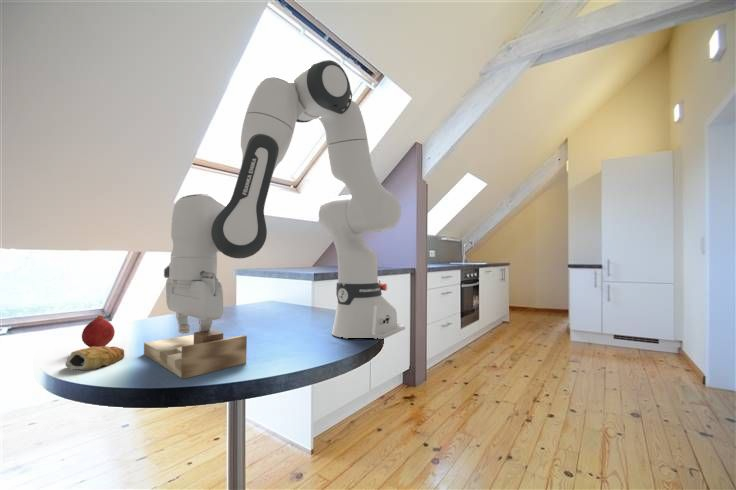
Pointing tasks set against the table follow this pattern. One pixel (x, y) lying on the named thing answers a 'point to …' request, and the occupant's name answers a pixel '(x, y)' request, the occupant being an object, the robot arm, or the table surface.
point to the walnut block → (207, 336)
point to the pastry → (94, 357)
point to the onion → (98, 332)
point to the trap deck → (197, 354)
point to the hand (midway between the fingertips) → (192, 336)
